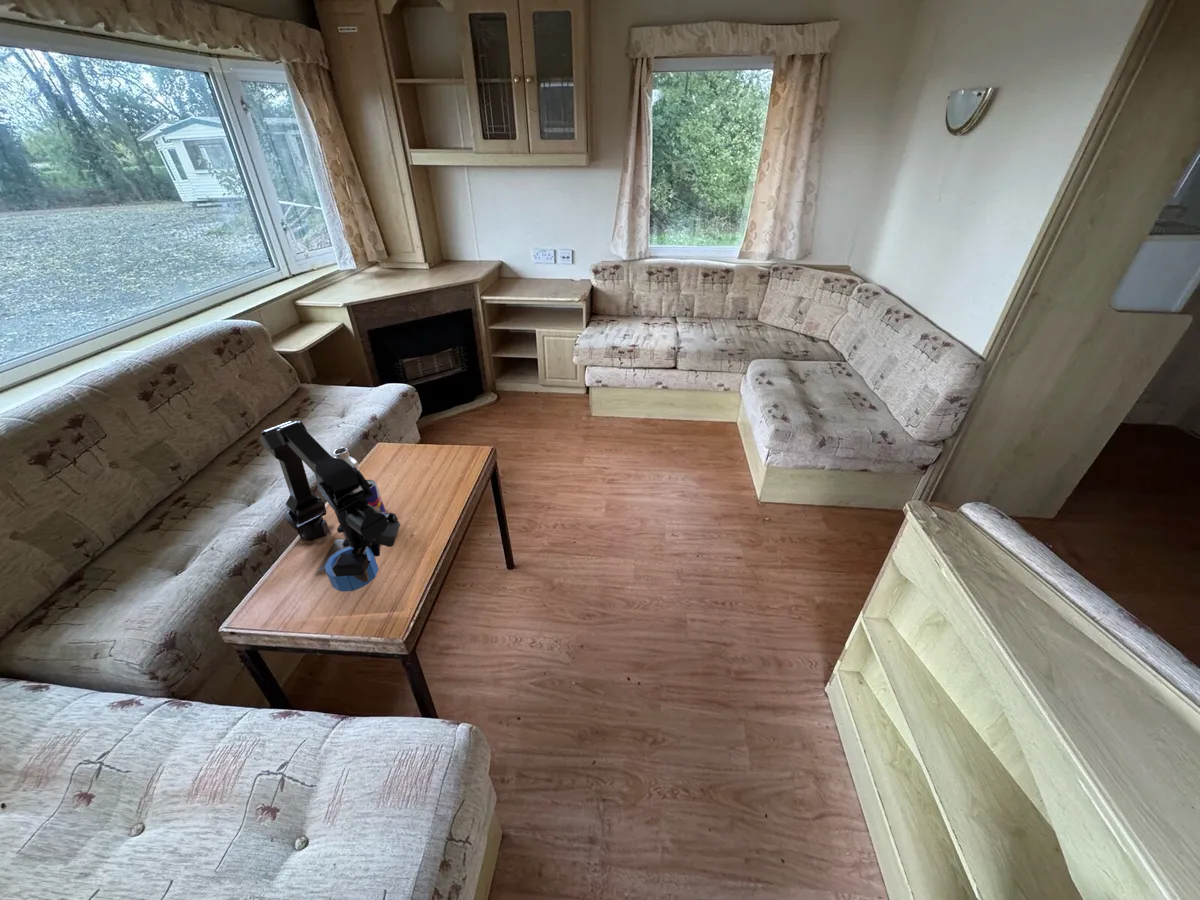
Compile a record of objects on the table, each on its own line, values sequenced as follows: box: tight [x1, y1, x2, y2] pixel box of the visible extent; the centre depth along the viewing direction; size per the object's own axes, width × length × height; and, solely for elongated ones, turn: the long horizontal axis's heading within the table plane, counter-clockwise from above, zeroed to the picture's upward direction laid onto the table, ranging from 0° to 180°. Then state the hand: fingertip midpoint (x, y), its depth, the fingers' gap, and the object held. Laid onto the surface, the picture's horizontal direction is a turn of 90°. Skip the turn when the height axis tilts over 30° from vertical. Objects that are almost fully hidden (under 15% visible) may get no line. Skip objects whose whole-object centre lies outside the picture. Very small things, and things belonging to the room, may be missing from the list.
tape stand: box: [317, 538, 349, 573], centre depth 128 cm, size 12×12×5 cm
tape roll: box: [325, 546, 379, 593], centre depth 113 cm, size 10×10×5 cm
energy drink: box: [357, 479, 387, 514], centre depth 140 cm, size 5×5×12 cm
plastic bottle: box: [333, 447, 360, 493], centre depth 142 cm, size 6×7×20 cm
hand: (372, 568), depth 114 cm, fingers closed on tape roll, 8 cm apart
